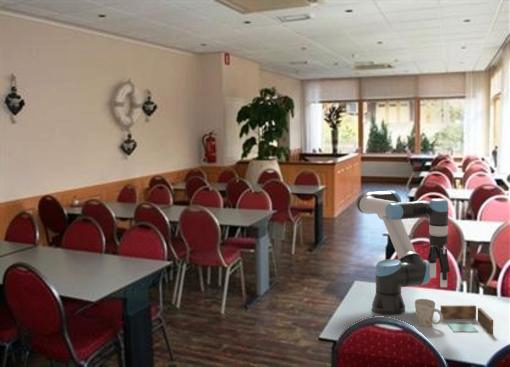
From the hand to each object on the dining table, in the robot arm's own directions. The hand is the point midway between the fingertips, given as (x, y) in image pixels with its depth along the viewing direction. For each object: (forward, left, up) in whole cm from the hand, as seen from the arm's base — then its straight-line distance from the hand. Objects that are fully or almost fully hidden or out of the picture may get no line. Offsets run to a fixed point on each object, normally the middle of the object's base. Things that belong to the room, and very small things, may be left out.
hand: (438, 282), depth 214 cm
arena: (+10, -5, -18) cm, 21 cm away
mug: (-5, -5, -18) cm, 19 cm away
